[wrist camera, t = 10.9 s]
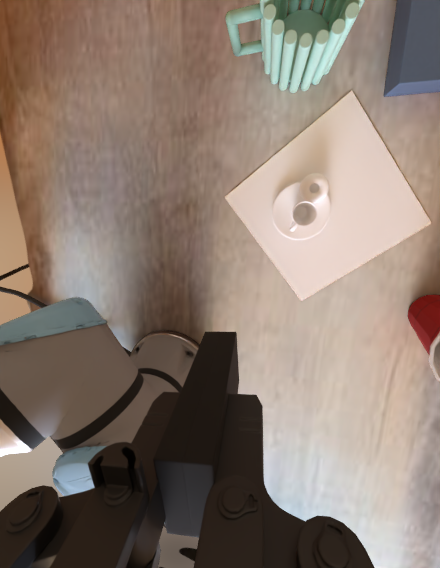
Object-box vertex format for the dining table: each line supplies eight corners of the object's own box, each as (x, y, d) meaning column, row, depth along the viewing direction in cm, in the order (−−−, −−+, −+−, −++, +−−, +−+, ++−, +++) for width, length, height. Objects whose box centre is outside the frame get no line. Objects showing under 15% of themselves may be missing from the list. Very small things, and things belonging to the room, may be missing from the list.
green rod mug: (307, 101, 37) (208, 95, 31) (307, 22, 34) (198, -1, 28) (416, 44, 24) (285, 17, 19) (429, -86, 22) (281, -165, 16)
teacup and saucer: (314, 164, 35) (320, 160, 31) (346, 212, 36) (356, 215, 33) (260, 206, 38) (260, 207, 34) (292, 249, 39) (294, 255, 35)
